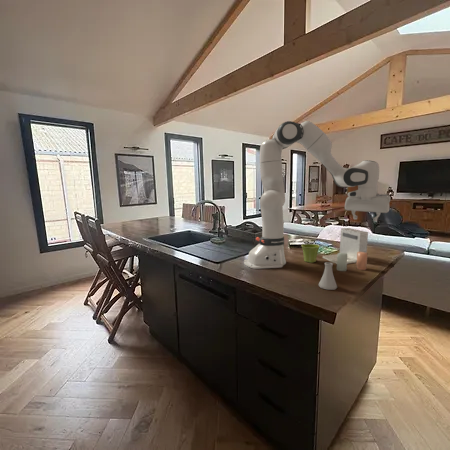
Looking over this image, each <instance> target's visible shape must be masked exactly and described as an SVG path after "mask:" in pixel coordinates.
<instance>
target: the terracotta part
mask: <svg viewBox="0 0 450 450" xmlns="http://www.w3.org/2000/svg"><path fill="white" fill-rule="evenodd" d="M367 263H368V252H367V253H366V252H357V262H356V266H355V268H356V270H360V271H366V270H367V266H368V264H367Z"/></svg>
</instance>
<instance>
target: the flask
mask: <svg viewBox="0 0 450 450" xmlns="http://www.w3.org/2000/svg"><path fill="white" fill-rule="evenodd" d="M333 265H334V263H333V262H331V261H329V262H324V270H323V273H322V277H321V278H320V281H319V282H318V287H320V289H324V290H327V291H328V290H329V291H330V290H332V291H333V290H336V289H337V288H338V285H337V281H336V280H335V279H336V278H335V277H334V273H333Z"/></svg>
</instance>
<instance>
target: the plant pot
mask: <svg viewBox="0 0 450 450" xmlns="http://www.w3.org/2000/svg"><path fill="white" fill-rule="evenodd" d="M301 249H302V251H303V252H302V253H303V261H304V262H307V263H311V264H312V263H316V262H317V257H318V252H319V249H320V245H319V244H317V243H316V244H315V243H303V244H301Z"/></svg>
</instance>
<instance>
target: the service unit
mask: <svg viewBox="0 0 450 450" xmlns="http://www.w3.org/2000/svg"><path fill="white" fill-rule="evenodd" d="M368 237H369V232H368V231H364V230H359V229H355V228H350V227H344V228H340V239H339V240H340V241H339V253H346V254H347V265H349V264H353V263H354V264H355V263H356V264H357V252H366V253H368ZM337 254H338V253H337ZM337 254H329V255H326V254H325V255H322V259H325V260H327V261H329V262H330V263H333V264H336V265H337Z"/></svg>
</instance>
